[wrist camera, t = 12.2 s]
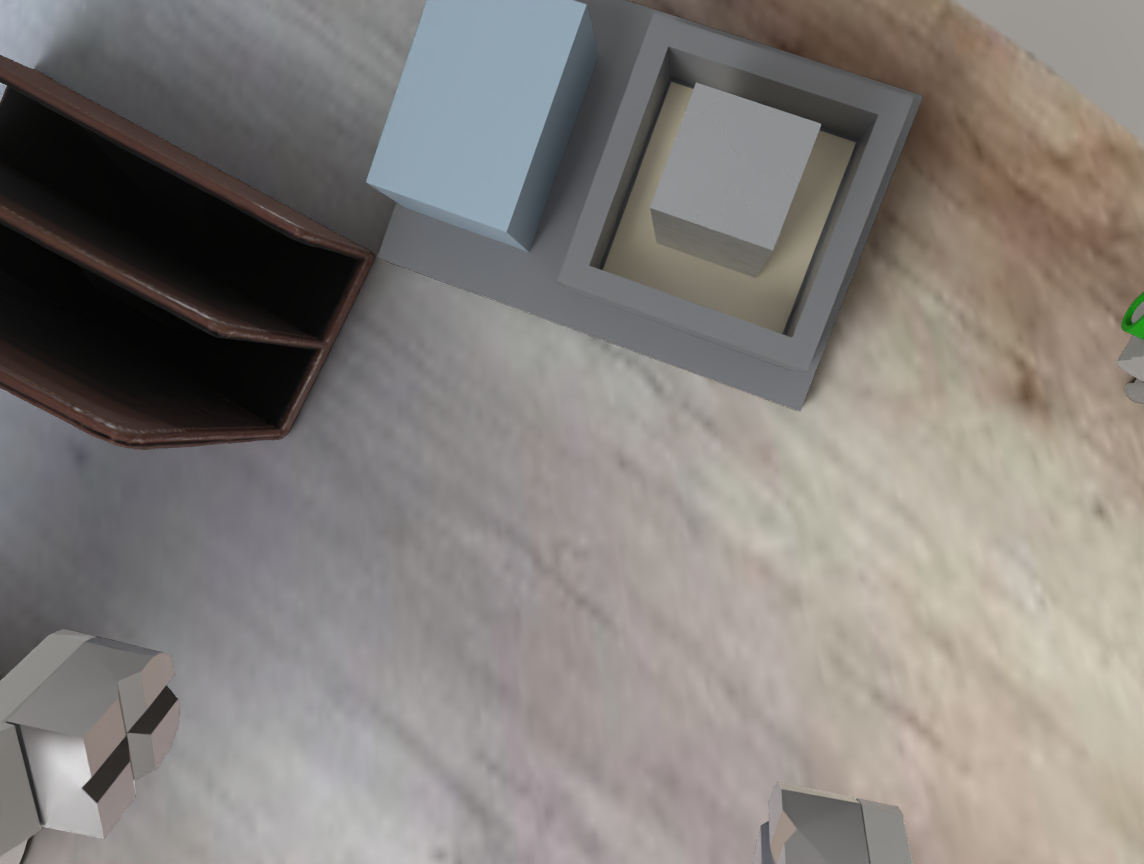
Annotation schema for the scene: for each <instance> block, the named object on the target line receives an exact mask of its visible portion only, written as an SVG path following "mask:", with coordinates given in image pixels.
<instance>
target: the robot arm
mask: <svg viewBox="0 0 1144 864" xmlns="http://www.w3.org/2000/svg"><path fill="white" fill-rule="evenodd" d="M174 675H175V672H174V667H173V662H172V657H171V655H168V654H166V653H163V652H160V651H156V650H151V649H147V648H143V647H139V646H135V645H131V644H126V643H122V642H118V641H114V640H110V639H106V638H102V637H97V636H96V637H95V636H91V635H87V634H83V633H78V632H74V631H70V630H66V629H61V630H59V631H56V632H54V633H51V634H50V635H48V636H47V637H46V638H45V639H44V640H43V641H42V642H41V643H40V644H39V645H38V646H37V647H36V648H34V649H33V650H32V651H31V652H30V653H29V654H28V655H27V656H26V657H25V658H24V659H23V660H22V661H21V662H20V663H19V664H18V665H16V666H15V667H14V668H13V669H12V670H11V671H10V672H9V673H8V674H7V675H6V676H5V677H4V678H3V679H2V680H1V681H0V864H19V863H20V861H21V859H22V856H23V853H24V850H25V847H26V844H27V840H28V838H30V837H32V836H33V835H35V834H36V833H38V832H39V831H41V826H42V827H47V828H52V829H56V830H61V831H66V832H71V833H76V834H81V835H86V836H91V837H96V838H101V839H105V837H106V836H107V835H108V833H109V832H110V831H111V829H112V828H113V827H114V825H115V824H116V823H117V821H118V820H119V818H120V817H121V816H122V814H123V813H124V812H125V810H126V809H127V808H128V806H129V805H130V804H131V802H132V801H133V800H134V798H135V797H136V792H135V780H136V779H138V778H140V777H142V776H144V775H146V774H148V773H149V772H151V771H153V770H155V769H156V768H157V767H158V765H159V764H160V763H161V761H162V760H163V758H164V757H165V755H166V754H167V753H168V751H169V749H170V746H171V744H172V742H173V739H174V737H175V734H176V732H177V729H178V722H179V714H180V711H179V702H178V698H177V697H176V696H175V695H174V693H173V692H172V691H171V690H170V689H169V687H168V686H167V684H168V682H169V681H170V680H171V679H172V677H173V676H174ZM768 803H769V821H768V822H766V823H764V824H763V825H761V827H760V830H759V834H758V837H757V841H756V845H755V851H754V857H753V863H752V864H913V860H912V855H911V851H910V846H909V841H908V836H907V831H906V826H905V821H904V817H903V814H902V812H901V810H900V809H899V807H898V806H893V805H888V804H883V803H878V802H873V801H869V800H864V799H859V798H857V799H855V798H854V797H851V796H846V795H841V794H836V793H831V792H826V791H821V790H816V789H811V788H806V787H801V786H796V785H791V784H786V783H781V782H777V783H776V785H775V786H774V787H773V790H772V793H771V796H770V799H769V802H768Z"/></svg>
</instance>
